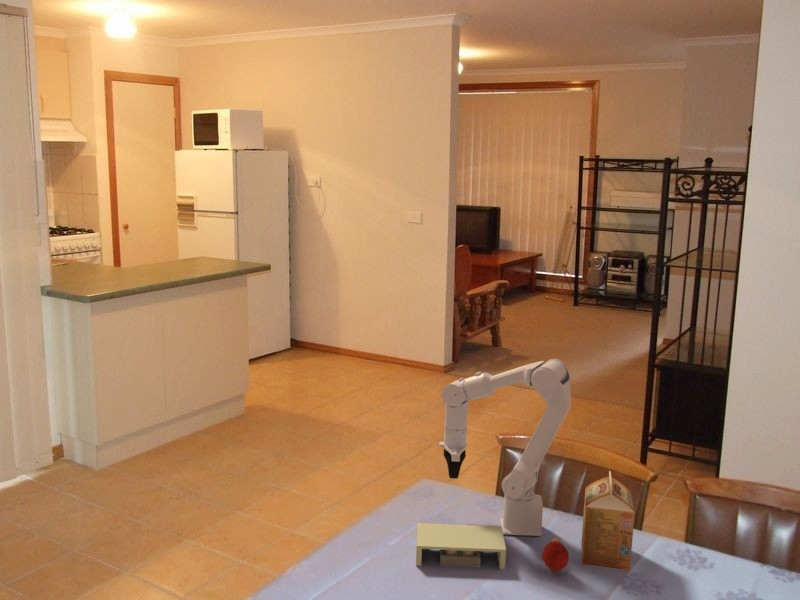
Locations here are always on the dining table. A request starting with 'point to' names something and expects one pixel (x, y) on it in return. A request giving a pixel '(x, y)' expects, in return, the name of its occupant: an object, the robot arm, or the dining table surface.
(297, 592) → the dining table surface
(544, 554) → the onion
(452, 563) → the tray
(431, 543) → the bench
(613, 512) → the milk carton
